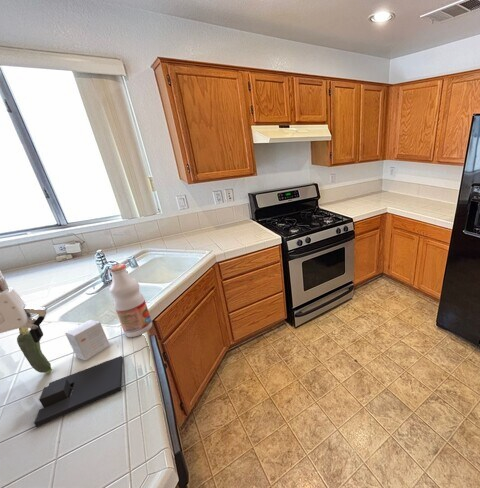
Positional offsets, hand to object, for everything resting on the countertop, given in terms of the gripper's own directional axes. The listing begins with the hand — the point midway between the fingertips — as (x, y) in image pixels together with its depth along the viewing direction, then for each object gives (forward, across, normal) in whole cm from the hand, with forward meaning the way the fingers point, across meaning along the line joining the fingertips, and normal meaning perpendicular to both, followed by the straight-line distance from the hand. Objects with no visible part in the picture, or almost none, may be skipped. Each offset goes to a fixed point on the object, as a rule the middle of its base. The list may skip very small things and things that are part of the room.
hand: (13, 347), depth 69 cm
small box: (+19, +10, +17) cm, 28 cm away
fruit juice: (+19, +24, +21) cm, 37 cm away
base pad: (+19, +10, -3) cm, 22 cm away
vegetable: (+19, -2, +14) cm, 24 cm away
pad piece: (+19, +4, -3) cm, 19 cm away
